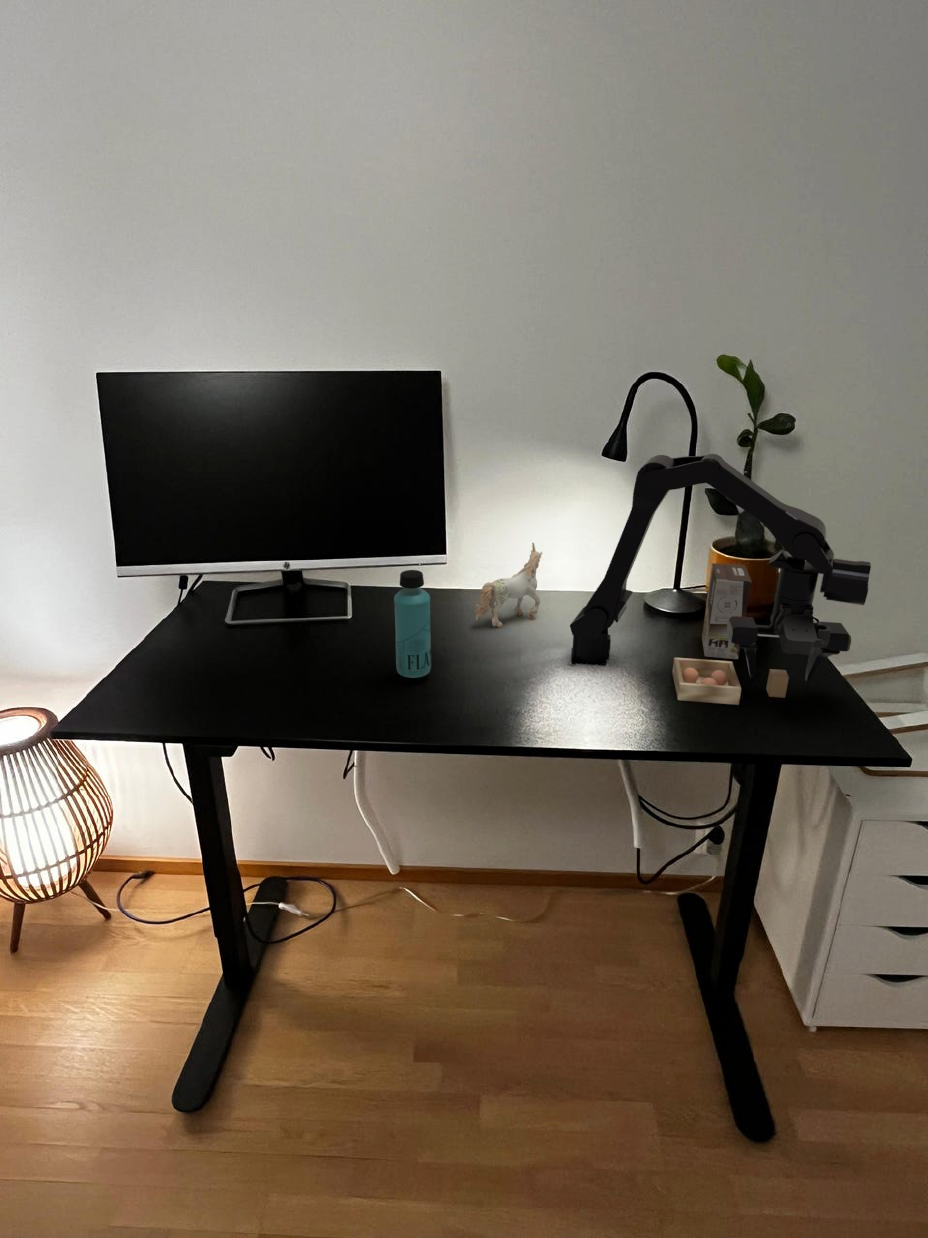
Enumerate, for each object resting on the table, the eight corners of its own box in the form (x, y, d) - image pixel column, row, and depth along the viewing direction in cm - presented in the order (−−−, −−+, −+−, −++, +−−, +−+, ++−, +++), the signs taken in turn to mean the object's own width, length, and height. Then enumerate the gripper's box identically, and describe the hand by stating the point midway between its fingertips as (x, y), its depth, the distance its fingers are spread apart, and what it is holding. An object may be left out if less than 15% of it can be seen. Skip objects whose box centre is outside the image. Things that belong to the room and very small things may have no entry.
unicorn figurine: (557, 608, 173) (560, 549, 167) (499, 638, 160) (501, 575, 154) (530, 600, 177) (533, 542, 172) (472, 627, 164) (473, 566, 158)
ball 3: (710, 688, 141) (713, 674, 140) (708, 680, 143) (710, 666, 142) (727, 689, 140) (729, 675, 139) (725, 682, 143) (727, 668, 142)
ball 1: (681, 685, 142) (683, 671, 140) (680, 678, 144) (682, 664, 143) (698, 687, 141) (700, 672, 140) (696, 679, 144) (698, 665, 143)
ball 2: (700, 696, 138) (702, 682, 137) (698, 688, 141) (700, 674, 140) (717, 697, 138) (719, 683, 137) (715, 689, 140) (717, 675, 139)
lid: (748, 711, 136) (753, 685, 134) (738, 682, 145) (742, 657, 143) (813, 716, 135) (818, 690, 132) (798, 686, 144) (803, 661, 142)
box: (677, 702, 137) (679, 684, 136) (672, 674, 146) (674, 657, 145) (738, 707, 136) (741, 688, 135) (729, 678, 145) (731, 661, 144)
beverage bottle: (404, 689, 141) (401, 582, 133) (389, 672, 146) (386, 569, 138) (438, 681, 144) (437, 576, 135) (422, 665, 149) (421, 563, 141)
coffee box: (739, 661, 151) (752, 581, 144) (703, 658, 152) (715, 578, 146) (734, 640, 159) (746, 564, 153) (700, 637, 160) (711, 561, 154)
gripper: (744, 610, 126) (729, 697, 132) (870, 617, 123) (849, 706, 130) (733, 583, 136) (720, 666, 142) (849, 590, 133) (831, 673, 140)
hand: (778, 678), depth 138 cm, fingers open, 9 cm apart
